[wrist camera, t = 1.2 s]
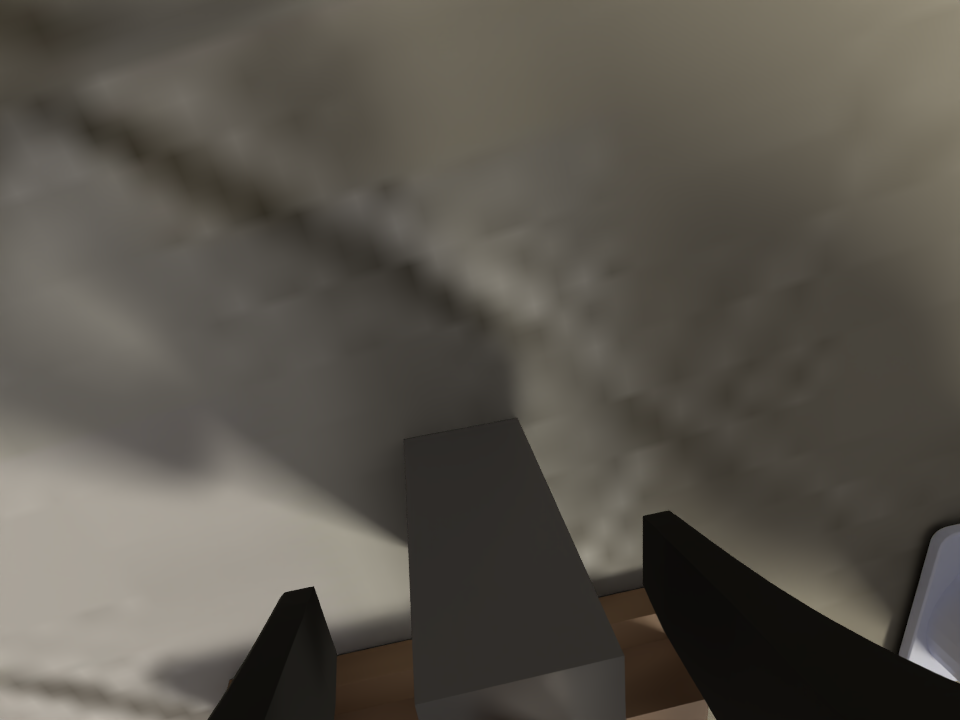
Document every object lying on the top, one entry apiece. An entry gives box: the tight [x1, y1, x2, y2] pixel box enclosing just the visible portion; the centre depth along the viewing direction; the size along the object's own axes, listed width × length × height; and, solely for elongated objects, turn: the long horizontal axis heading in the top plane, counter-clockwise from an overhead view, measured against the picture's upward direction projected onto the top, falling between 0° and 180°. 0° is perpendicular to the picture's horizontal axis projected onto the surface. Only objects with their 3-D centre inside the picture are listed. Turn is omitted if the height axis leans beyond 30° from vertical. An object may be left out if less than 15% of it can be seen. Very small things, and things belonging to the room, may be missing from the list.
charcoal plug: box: [404, 418, 626, 720], centre depth 11 cm, size 3×4×8 cm
